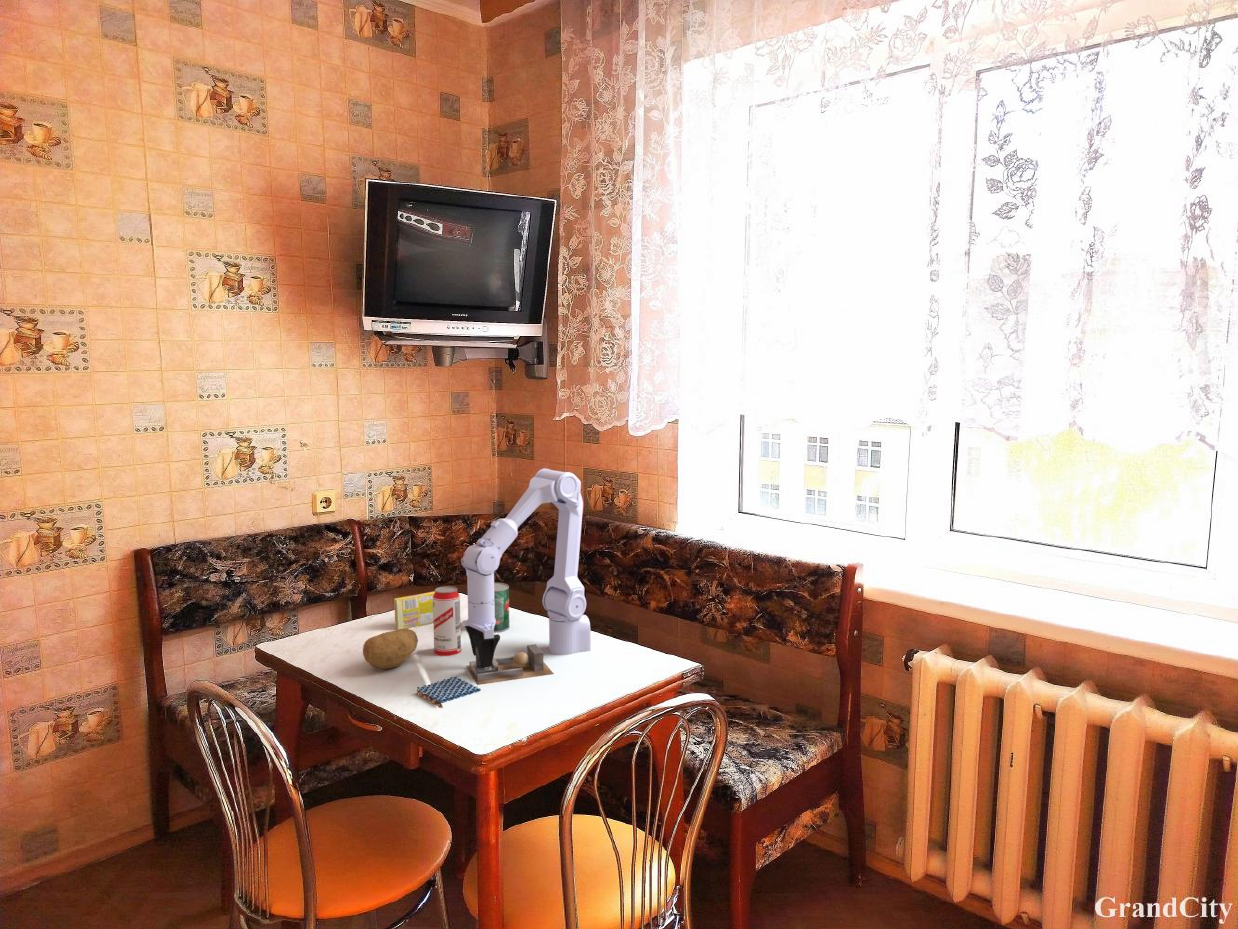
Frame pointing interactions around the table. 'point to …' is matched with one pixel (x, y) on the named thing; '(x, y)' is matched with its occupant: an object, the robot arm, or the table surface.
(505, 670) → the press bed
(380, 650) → the potato
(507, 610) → the canned tomato
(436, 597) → the beer can
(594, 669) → the table surface
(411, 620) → the candy box
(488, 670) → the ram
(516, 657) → the walnut
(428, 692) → the woven mat
